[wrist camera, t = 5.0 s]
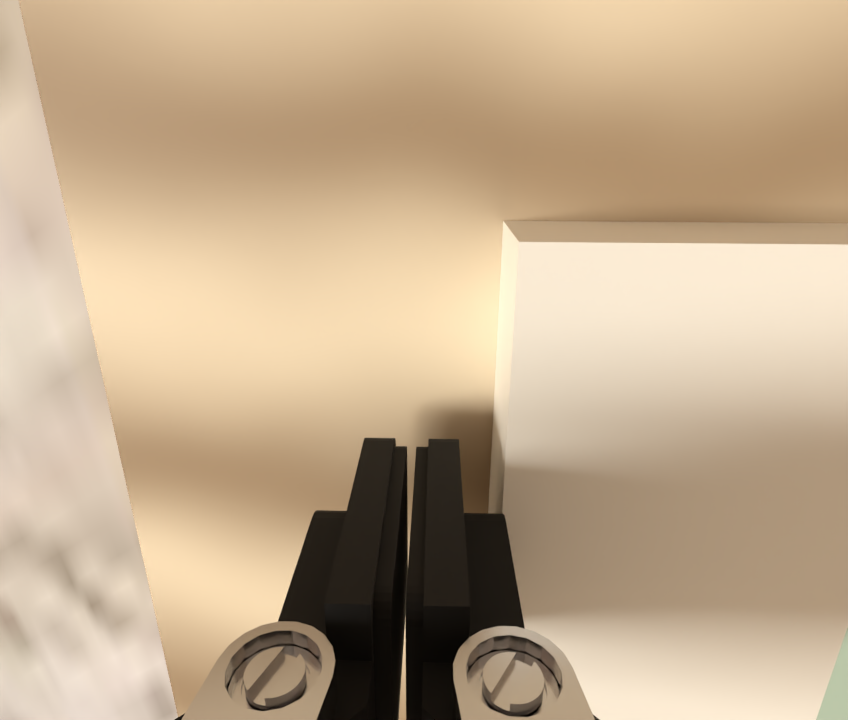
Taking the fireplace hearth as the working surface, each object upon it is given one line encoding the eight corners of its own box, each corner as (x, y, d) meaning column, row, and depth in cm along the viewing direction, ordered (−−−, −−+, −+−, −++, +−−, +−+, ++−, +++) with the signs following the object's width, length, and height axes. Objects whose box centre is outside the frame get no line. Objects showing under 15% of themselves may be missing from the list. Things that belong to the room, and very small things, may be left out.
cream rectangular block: (503, 220, 10) (518, 241, 8) (872, 223, 10) (978, 245, 8) (479, 672, 13) (486, 760, 11) (748, 677, 13) (799, 767, 11)
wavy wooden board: (53, -187, 10) (-41, -265, 8) (940, -208, 9) (1068, -294, 7) (229, 757, 17) (203, 832, 16) (708, 764, 17) (742, 841, 15)
